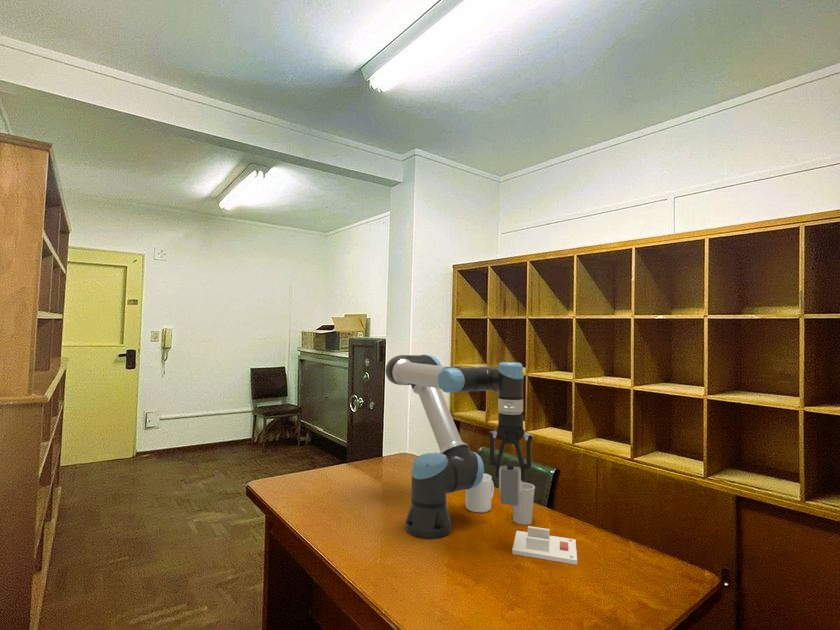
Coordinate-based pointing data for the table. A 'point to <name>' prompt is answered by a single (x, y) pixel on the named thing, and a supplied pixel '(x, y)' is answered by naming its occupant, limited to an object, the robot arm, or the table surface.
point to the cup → (524, 505)
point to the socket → (544, 546)
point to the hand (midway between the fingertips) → (510, 489)
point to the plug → (509, 484)
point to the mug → (480, 495)
